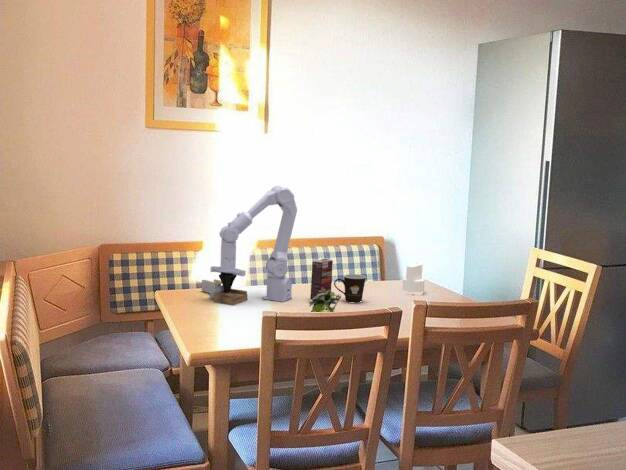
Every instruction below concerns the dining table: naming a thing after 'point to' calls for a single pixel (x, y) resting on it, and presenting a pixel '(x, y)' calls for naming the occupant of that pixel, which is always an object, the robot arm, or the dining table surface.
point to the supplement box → (321, 276)
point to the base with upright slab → (413, 279)
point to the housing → (230, 297)
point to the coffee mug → (353, 287)
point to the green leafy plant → (324, 301)
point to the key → (210, 285)
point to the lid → (219, 289)
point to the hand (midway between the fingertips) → (227, 292)
